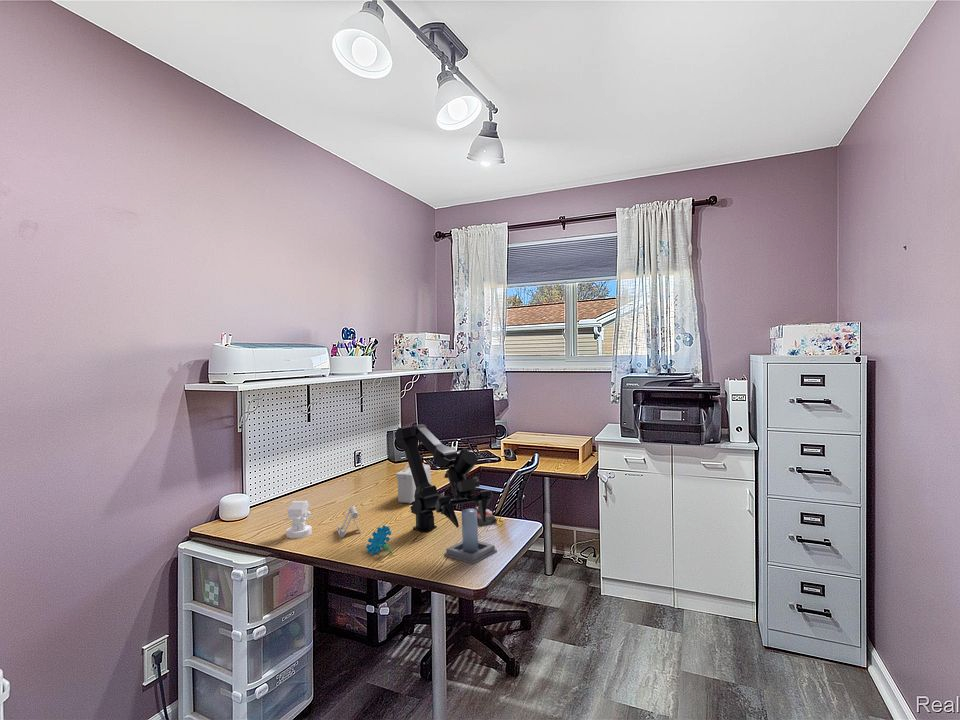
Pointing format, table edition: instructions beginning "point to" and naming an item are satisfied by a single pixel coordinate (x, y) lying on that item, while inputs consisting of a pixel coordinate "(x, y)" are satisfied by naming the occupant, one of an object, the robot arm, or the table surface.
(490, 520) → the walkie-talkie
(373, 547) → the gear
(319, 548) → the table surface
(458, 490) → the robot arm
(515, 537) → the table surface
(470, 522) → the blue-grey rounded knob
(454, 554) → the grey square recessed dock
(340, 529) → the portable electronic device stand
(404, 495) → the stereo radio cassette player
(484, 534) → the table surface
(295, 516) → the character figurine
